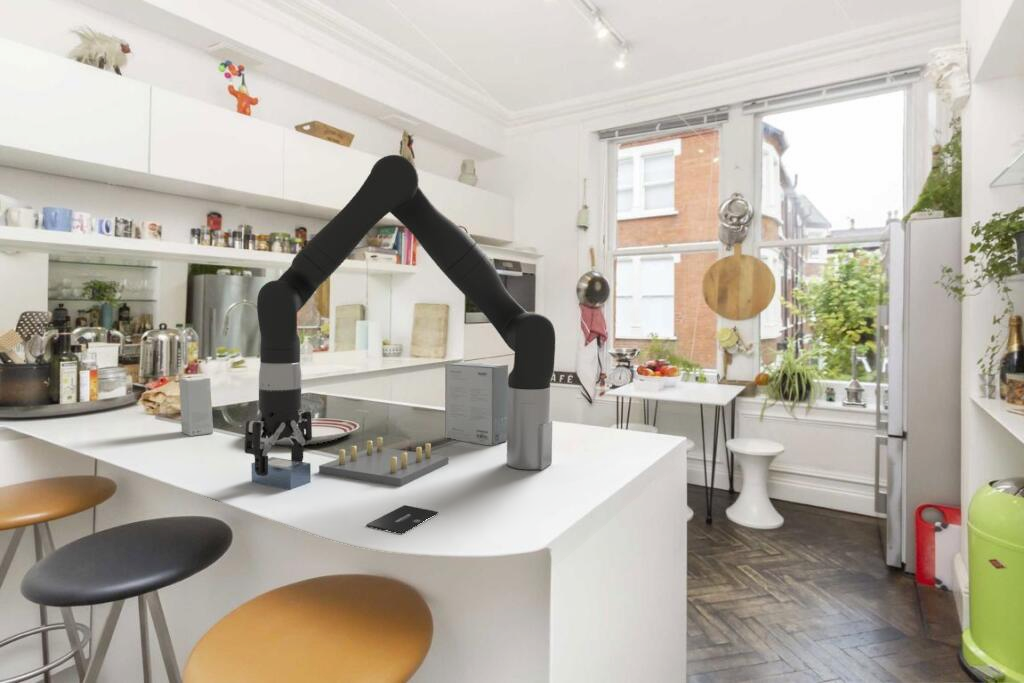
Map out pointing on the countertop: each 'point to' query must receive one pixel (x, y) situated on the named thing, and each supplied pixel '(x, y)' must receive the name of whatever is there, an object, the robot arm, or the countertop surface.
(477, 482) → the countertop surface
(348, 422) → the dinner plate
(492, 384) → the hard drive box
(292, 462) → the blue block
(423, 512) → the solid state drive
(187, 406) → the skincare box
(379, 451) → the grey peg board
